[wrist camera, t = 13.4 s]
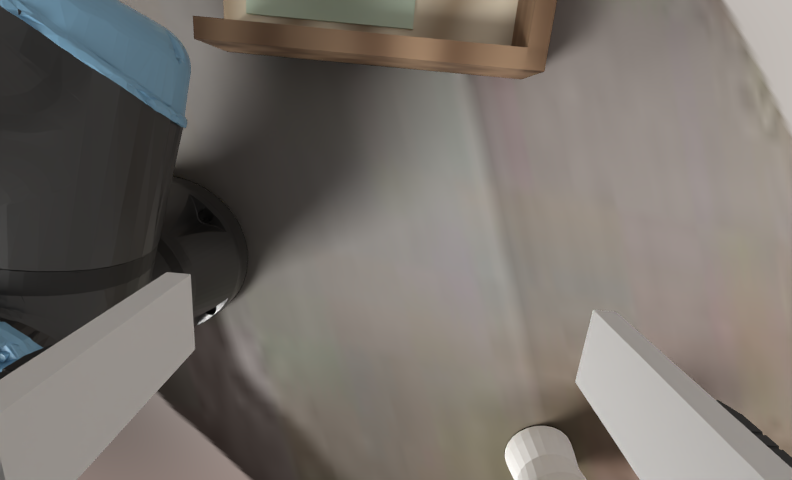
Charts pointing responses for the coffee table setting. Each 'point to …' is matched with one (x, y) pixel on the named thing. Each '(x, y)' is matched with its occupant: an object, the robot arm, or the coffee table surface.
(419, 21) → the board
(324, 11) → the pad
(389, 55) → the walls
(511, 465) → the cup
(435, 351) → the coffee table surface
